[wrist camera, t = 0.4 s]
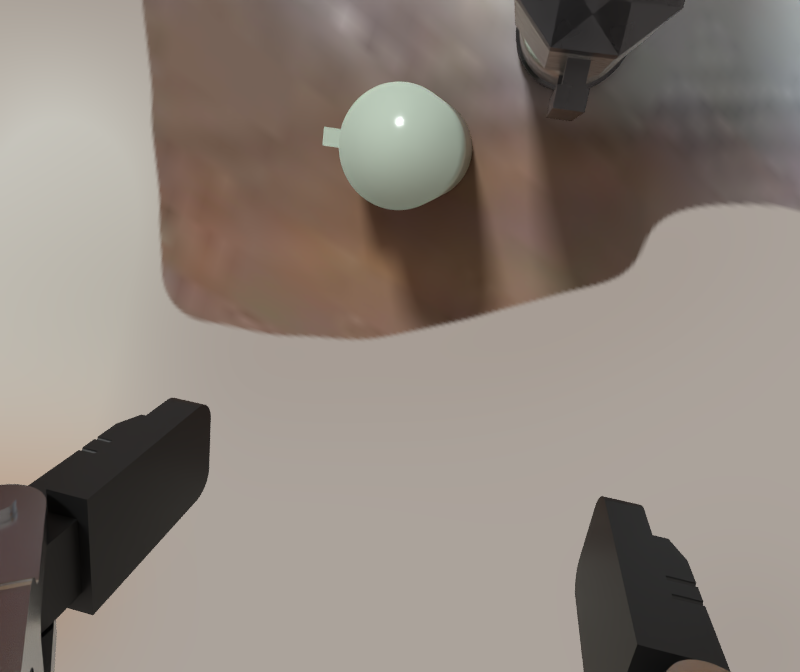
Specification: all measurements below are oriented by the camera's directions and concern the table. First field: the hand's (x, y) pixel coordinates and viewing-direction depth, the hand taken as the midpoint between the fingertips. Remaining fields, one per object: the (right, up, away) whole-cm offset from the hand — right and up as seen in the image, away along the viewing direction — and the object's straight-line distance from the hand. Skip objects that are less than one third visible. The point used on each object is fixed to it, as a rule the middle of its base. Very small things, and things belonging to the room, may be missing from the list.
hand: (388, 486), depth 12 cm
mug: (+2, +15, +27) cm, 32 cm away
